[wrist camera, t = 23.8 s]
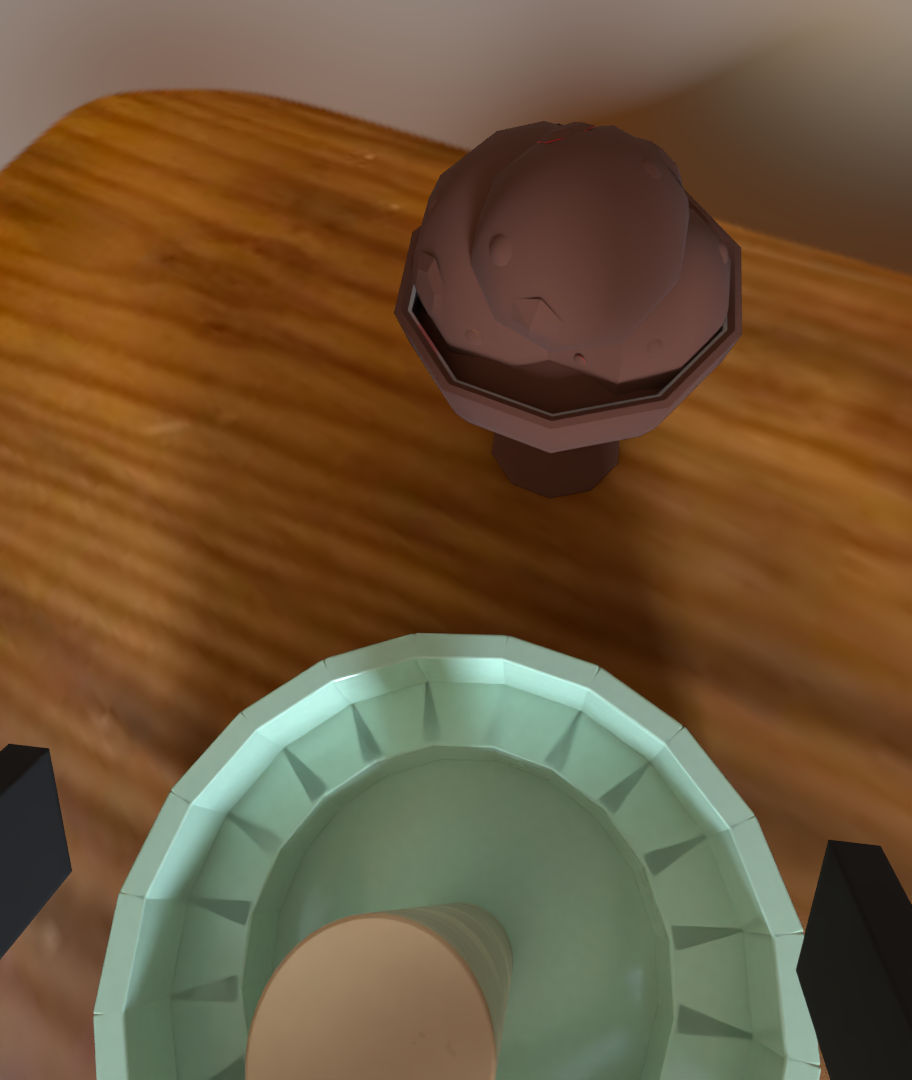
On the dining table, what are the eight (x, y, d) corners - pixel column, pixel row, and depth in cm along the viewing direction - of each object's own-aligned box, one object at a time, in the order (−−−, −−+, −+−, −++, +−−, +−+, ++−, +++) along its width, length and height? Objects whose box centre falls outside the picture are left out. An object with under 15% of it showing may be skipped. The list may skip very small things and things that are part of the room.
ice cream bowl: (738, 427, 32) (896, 87, 19) (563, 611, 29) (598, 368, 16) (549, 301, 36) (565, -60, 22) (377, 453, 33) (276, 147, 20)
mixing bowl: (115, 870, 27) (0, 863, 21) (527, 599, 30) (528, 527, 24) (366, 1486, 20) (300, 1735, 14) (869, 1054, 23) (989, 1108, 17)
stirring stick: (393, 941, 24) (202, 1009, 10) (476, 881, 25) (409, 862, 10) (447, 1042, 23) (318, 1286, 9) (533, 976, 24) (548, 1103, 9)
